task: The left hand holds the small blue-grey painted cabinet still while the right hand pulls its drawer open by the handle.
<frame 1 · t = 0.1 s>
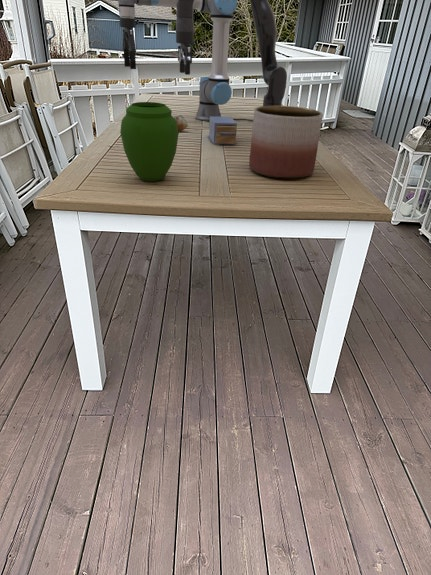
left hand: (130, 67, 208), 28 cm above the table, tool pointing down, fingers open, 13 cm apart
right hand: (184, 73, 181), 29 cm above the table, tool pointing down, fingers open, 8 cm apart
cabinet: (221, 140, 203), on the table
seashell: (178, 131, 216), on the table
planter: (280, 171, 162), on the table
vase: (151, 178, 146), on the table
drawer: (224, 132, 195), point 5 cm above the table, slide at 1.8 cm
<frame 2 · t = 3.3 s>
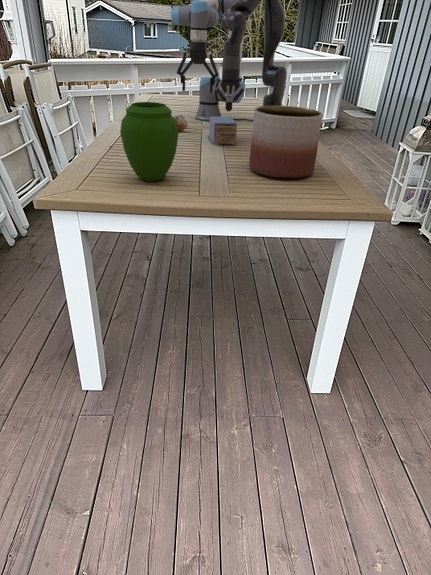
left hand: (197, 91, 200), 20 cm above the table, tool pointing down, fingers open, 13 cm apart
right hand: (228, 111, 183), 16 cm above the table, tool pointing down, fingers closed
nothing on the table moved.
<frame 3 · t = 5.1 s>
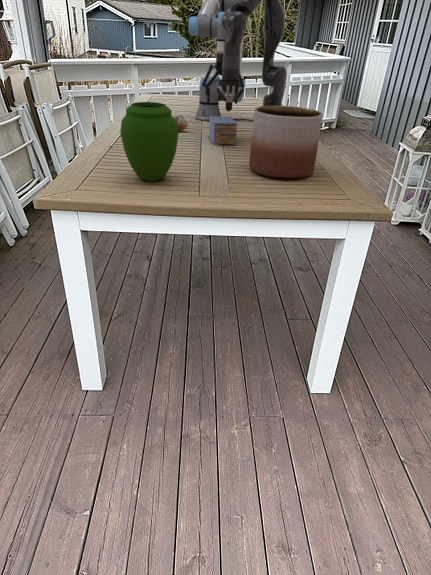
left hand: (222, 103, 198), 16 cm above the table, tool pointing down, fingers open, 13 cm apart
right hand: (228, 111, 183), 16 cm above the table, tool pointing down, fingers closed
nothing on the table moved.
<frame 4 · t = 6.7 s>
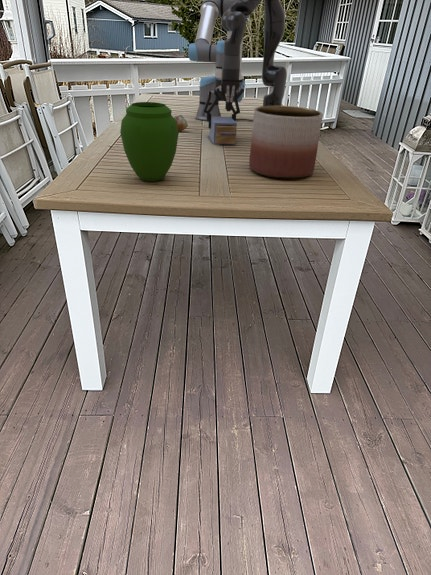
left hand: (220, 128, 204), 5 cm above the table, tool pointing down, fingers closed on cabinet, 11 cm apart
right hand: (228, 111, 183), 16 cm above the table, tool pointing down, fingers closed
cabinet: (221, 140, 203), on the table, touching left hand
everything else where it was.
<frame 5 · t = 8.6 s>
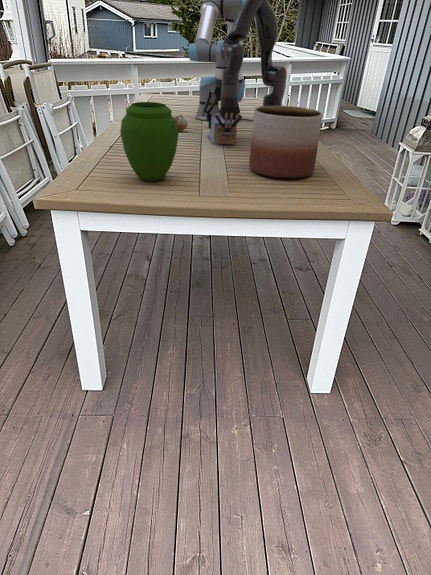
left hand: (220, 128, 204), 5 cm above the table, tool pointing down, fingers closed on cabinet, 11 cm apart
right hand: (227, 136, 189), 5 cm above the table, tool pointing down, fingers closed
cabinet: (221, 140, 203), on the table, touching left hand
drawer: (224, 132, 195), point 5 cm above the table, slide at 1.8 cm, touching right hand
everything else where it was.
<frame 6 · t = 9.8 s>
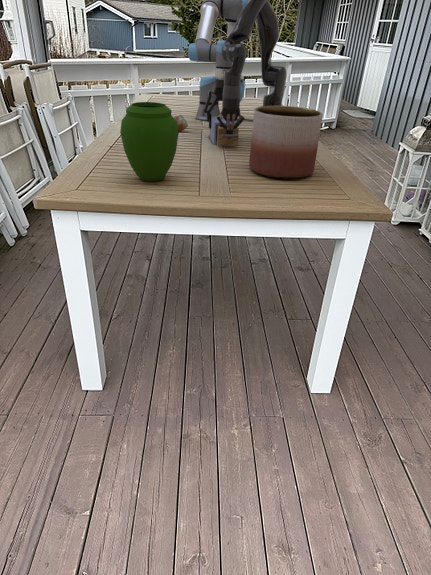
left hand: (221, 128, 204), 5 cm above the table, tool pointing down, fingers closed on cabinet, 11 cm apart
right hand: (229, 138, 185), 5 cm above the table, tool pointing down, fingers closed
cabinet: (222, 140, 203), on the table, touching left hand
drawer: (226, 134, 191), point 5 cm above the table, slide at 6.1 cm, touching right hand
everything else where it was.
when the left hand's fingers open (5 cm above the table, at t = 11.5 s): cabinet stays where it is, on the table.
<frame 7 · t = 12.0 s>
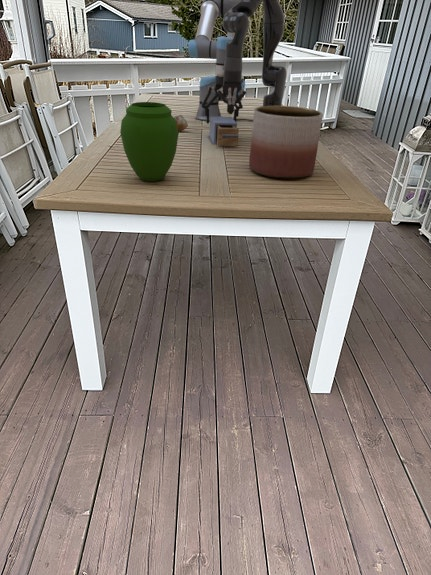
left hand: (221, 123, 203), 7 cm above the table, tool pointing down, fingers open, 13 cm apart
right hand: (230, 113, 180), 15 cm above the table, tool pointing down, fingers closed
cabinet: (222, 140, 203), on the table
drawer: (226, 134, 192), point 5 cm above the table, slide at 6.1 cm
everything else where it was.
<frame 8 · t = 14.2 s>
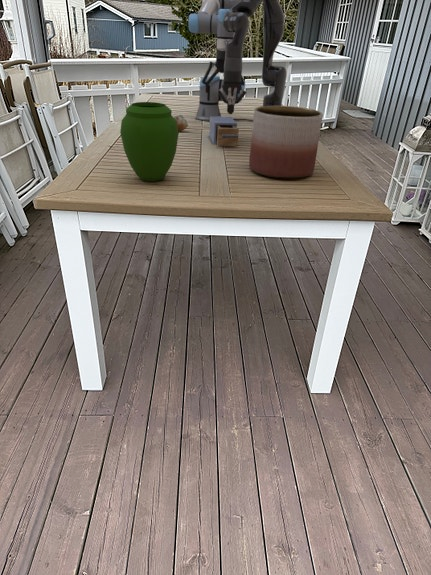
left hand: (222, 100, 197), 17 cm above the table, tool pointing down, fingers open, 13 cm apart
right hand: (230, 113, 180), 15 cm above the table, tool pointing down, fingers closed
nothing on the table moved.
at the end: drawer slide at 6.1 cm; cabinet tilted 0°; cabinet never tilted more than 1° during the clip; cabinet moved 0.1 cm from its start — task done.
